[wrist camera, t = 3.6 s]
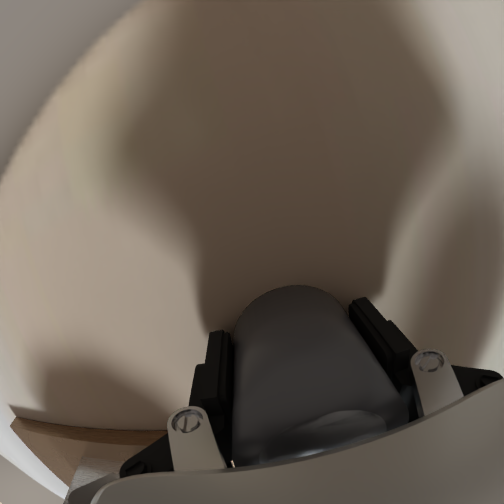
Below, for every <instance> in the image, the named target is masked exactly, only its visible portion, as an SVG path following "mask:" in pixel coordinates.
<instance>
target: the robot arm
mask: <svg viewBox="0 0 504 504" xmlns="http://www.w3.org/2000/svg"><path fill="white" fill-rule="evenodd" d="M349 318H350V319H351V321H352V322H353V324H354V325H355V327H356V328H357V330H358V331H359V333H360V334H361V336H362V337H363V339H364V340H365V342H366V343H367V345H368V346H369V348H370V349H371V351H372V352H373V354H374V355H375V357H376V358H377V360H378V361H379V363H380V365H381V366H382V368H383V369H384V371H385V372H386V374H387V375H388V377H389V379H390V380H391V382H392V383H393V385H394V386H395V388H396V390H397V391H398V393H399V394H400V396H401V398H402V399H403V401H404V402H405V404H406V406H407V408H408V411H409V421H408V423H407V424H405V425H403V426H400V427H398V428H395V429H393V430H390V431H387V432H385V433H382V434H379V435H376V436H374V437H371V438H368V439H365V440H362V441H359V442H355V443H352V444H349V445H346V446H342V447H339V448H335V449H331V450H328V451H324V452H320V453H316V454H312V455H307V456H303V457H298V458H293V459H288V460H283V461H277V462H272V463H265V464H259V465H251V466H243V467H234V465H233V463H232V395H233V344H232V340H231V337H230V334H229V332H227V333H224V331H223V330H219V331H214V332H210V334H209V340H208V346H207V353H206V359H205V364H198V365H196V368H195V373H194V378H193V384H192V389H191V395H190V400H189V406H188V407H183V408H181V409H178V410H177V411H175V412H174V413H173V414H172V415H171V416H170V417H169V419H168V421H167V429H168V433H167V434H165V435H164V436H162V437H161V438H160V439H158V440H157V441H155V442H154V443H152V444H151V445H149V446H148V447H146V448H145V449H143V450H142V451H140V452H139V453H137V454H136V455H134V456H132V457H131V458H129V459H128V460H127V461H125V462H124V463H123V465H122V466H121V468H120V471H119V473H117V474H115V473H114V472H112V473H110V474H108V475H106V476H104V477H102V478H99V479H97V480H95V481H93V482H90V483H88V484H86V485H83V486H81V487H79V488H76V489H75V490H73V491H72V492H71V493H70V495H69V497H68V504H504V378H503V377H502V376H501V375H500V374H499V373H497V372H495V371H491V370H484V369H476V368H468V367H461V366H454V365H451V364H450V362H449V360H448V358H447V356H446V355H445V354H444V353H443V352H442V351H439V350H437V349H423V350H420V351H418V350H417V349H416V348H415V347H414V346H413V345H412V343H411V342H410V341H409V340H408V339H407V338H406V337H405V335H404V334H403V333H402V332H401V331H400V330H399V329H398V327H397V326H396V325H395V324H394V323H393V322H392V321H391V320H388V321H387V320H386V319H385V318H384V317H383V316H382V315H381V314H380V312H379V311H378V310H377V309H376V308H375V307H374V306H373V305H372V303H371V302H370V301H369V300H368V299H367V298H366V297H363V298H359V299H356V300H353V301H352V304H350V305H349Z"/></svg>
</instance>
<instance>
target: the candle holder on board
mask: <svg viewBox="0 0 504 504" xmlns="http://www.w3.org/2000/svg"><path fill="white" fill-rule="evenodd" d="M10 427H11V428H12V429H13V431H14V432H15V433H16V434H17V435H18V437H19V438H20V439H21V440H22V441H23V442H24V443H25V444H26V446H27V447H28V448H29V449H30V450H31V451H32V452H33V453H34V454H35V455H36V456H37V457H38V458H39V459H40V460H41V461H42V462H43V463H44V464H45V465H46V466H47V467H48V468H49V469H50V470H51V471H52V472H53V473H54V474H55V475H56V476H57V477H58V478H59V479H61V480H62V481H63V482H64V483H65V484H66V485H67V486H69V490H68V493H67V495H66V498H65V501H64V503H63V504H68V497H69V495H70V493H71V492H72V491H73V490H75V489H76V488H79V487H81V486H83V485H86V484H88V483H90V482H93V481H95V480H97V479H99V478H102V477H104V476H106V475H108V474H110V473H112V472H114V473H115V474H117V473H119V471H120V468H121V466H122V465H123V463H124V462H125V461H127V460H128V459H129V458H131V457H132V456H134V455H136V454H137V453H139V452H140V451H142V450H143V449H145V448H146V447H148V446H149V445H151V444H152V443H154V442H155V441H157V440H158V439H160V438H161V437H162V436H164V435H165V434H167V433H168V430H164V431H127V430H105V429H91V428H81V427H72V426H64V425H56V424H50V423H44V422H38V421H33V420H28V419H23V418H18V417H16V418H15V419H14V421H13V422H12V424H11V425H10ZM232 463H233V461H232ZM233 465H234V464H233Z"/></svg>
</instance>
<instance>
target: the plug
mask: <svg viewBox="0 0 504 504" xmlns="http://www.w3.org/2000/svg"><path fill="white" fill-rule="evenodd" d="M408 421H409V411H408V408H407V406H406V404H405V402H404V401H403V399H402V398H401V396H400V394H399V393H398V391H397V390H396V388H395V386H394V385H393V383H392V382H391V380H390V379H389V377H388V375H387V374H386V372H385V371H384V369H383V368H382V366H381V365H380V363H379V361H378V360H377V358H376V357H375V355H374V354H373V352H372V351H371V349H370V348H369V346H368V345H367V343H366V342H365V340H364V339H363V337H362V336H361V334H360V333H359V331H358V330H357V328H356V327H355V325H354V324H353V322H352V321H351V319H350V318H349V317H348V315H347V314H346V312H345V311H344V309H343V308H342V306H341V305H340V304H339V302H338V301H337V300H336V299H335V298H334V297H332V296H331V295H330V294H328V293H326V292H325V291H323V290H320V289H317V288H314V287H310V286H301V285H296V286H286V287H281V288H278V289H274V290H272V291H270V292H267V293H265V294H264V295H262V296H260V297H259V298H257V299H256V300H254V301H253V302H252V303H251V304H250V305H249V306H248V307H247V308H246V309H245V310H244V311H243V313H242V314H241V316H240V318H239V319H238V322H237V324H236V327H235V331H234V339H233V395H232V461H233V464H234V467H243V466H251V465H259V464H265V463H272V462H277V461H283V460H288V459H293V458H298V457H303V456H307V455H312V454H316V453H320V452H324V451H328V450H331V449H335V448H339V447H342V446H346V445H349V444H352V443H355V442H359V441H362V440H365V439H368V438H371V437H374V436H376V435H379V434H382V433H385V432H387V431H390V430H393V429H395V428H398V427H400V426H403V425H405V424H407V423H408Z"/></svg>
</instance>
